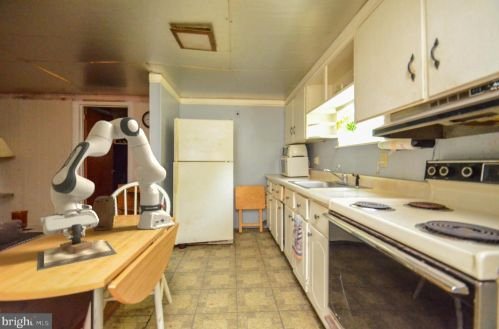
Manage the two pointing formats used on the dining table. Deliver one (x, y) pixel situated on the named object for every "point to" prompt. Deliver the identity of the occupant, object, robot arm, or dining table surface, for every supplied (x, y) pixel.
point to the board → (74, 254)
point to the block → (104, 212)
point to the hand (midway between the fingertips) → (77, 237)
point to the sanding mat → (41, 262)
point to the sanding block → (76, 241)
